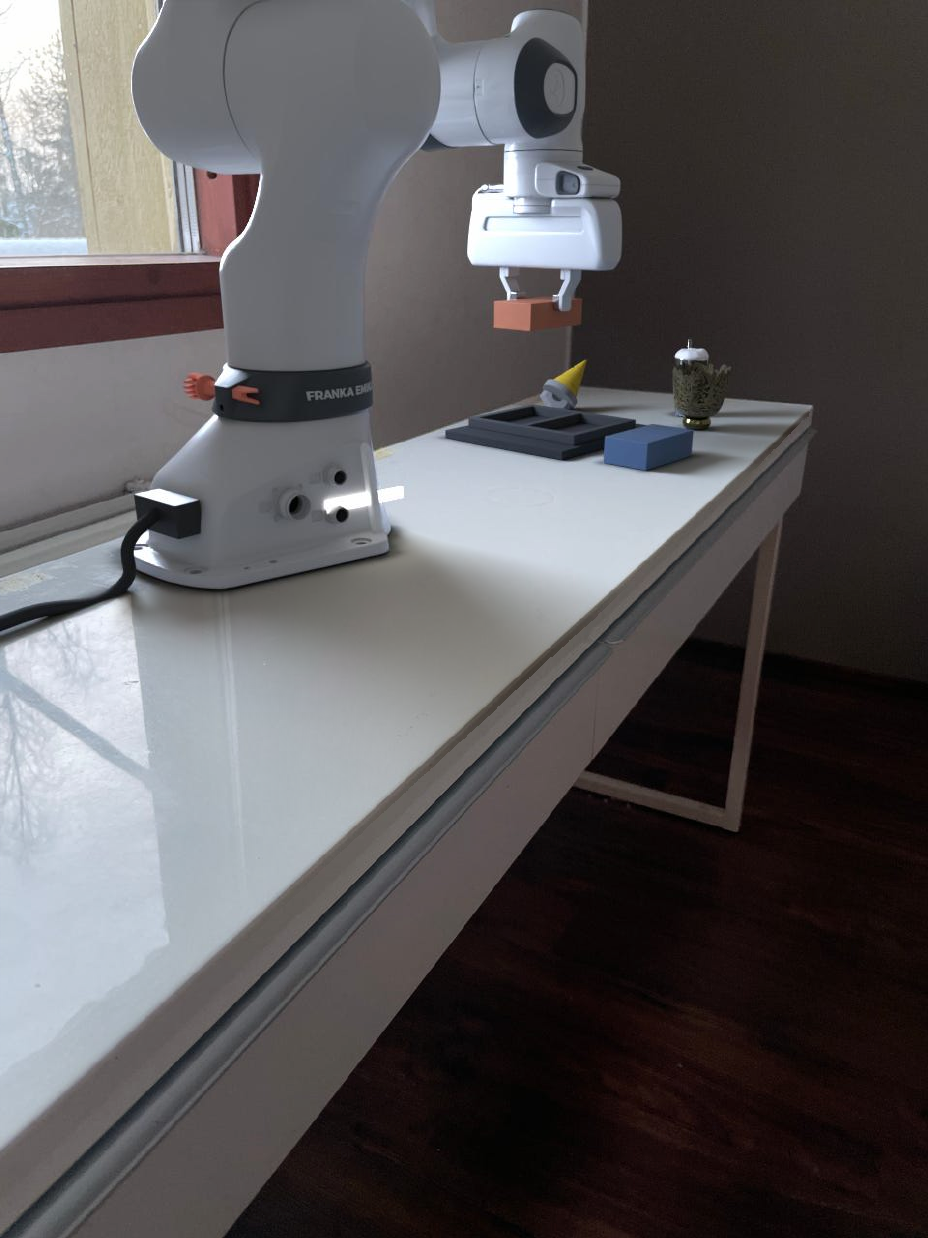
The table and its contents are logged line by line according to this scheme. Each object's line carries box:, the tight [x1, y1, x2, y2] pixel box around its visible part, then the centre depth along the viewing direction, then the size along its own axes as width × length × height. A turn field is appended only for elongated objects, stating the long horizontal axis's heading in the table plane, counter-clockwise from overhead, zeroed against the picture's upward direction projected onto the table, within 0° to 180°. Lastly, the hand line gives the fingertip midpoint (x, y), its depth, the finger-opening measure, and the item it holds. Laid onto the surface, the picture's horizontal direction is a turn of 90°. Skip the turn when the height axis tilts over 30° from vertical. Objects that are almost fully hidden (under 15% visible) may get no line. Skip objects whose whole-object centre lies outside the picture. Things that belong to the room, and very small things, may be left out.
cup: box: [671, 362, 733, 431], centre depth 124 cm, size 8×7×8 cm
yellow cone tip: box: [539, 359, 588, 410], centre depth 136 cm, size 5×5×10 cm
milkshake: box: [674, 338, 710, 418], centre depth 132 cm, size 4×5×10 cm
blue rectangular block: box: [603, 423, 695, 472], centre depth 108 cm, size 10×6×3 cm, turn 138°
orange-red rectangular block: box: [493, 295, 583, 332], centre depth 113 cm, size 10×6×3 cm, turn 138°
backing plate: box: [444, 403, 648, 461], centre depth 120 cm, size 20×18×2 cm
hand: (538, 309), depth 113 cm, fingers closed on orange-red rectangular block, 5 cm apart
